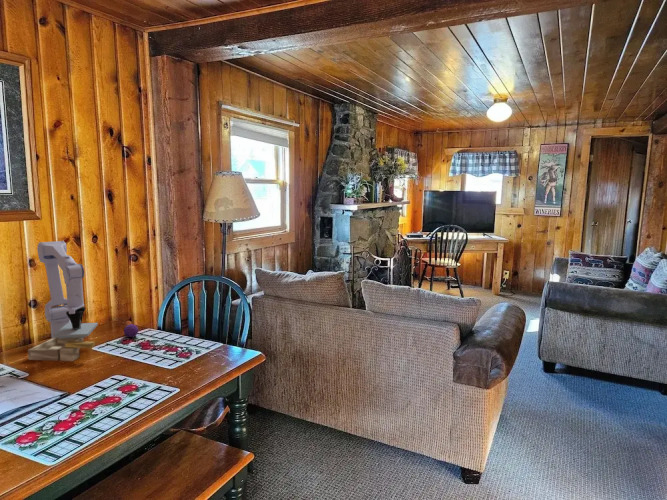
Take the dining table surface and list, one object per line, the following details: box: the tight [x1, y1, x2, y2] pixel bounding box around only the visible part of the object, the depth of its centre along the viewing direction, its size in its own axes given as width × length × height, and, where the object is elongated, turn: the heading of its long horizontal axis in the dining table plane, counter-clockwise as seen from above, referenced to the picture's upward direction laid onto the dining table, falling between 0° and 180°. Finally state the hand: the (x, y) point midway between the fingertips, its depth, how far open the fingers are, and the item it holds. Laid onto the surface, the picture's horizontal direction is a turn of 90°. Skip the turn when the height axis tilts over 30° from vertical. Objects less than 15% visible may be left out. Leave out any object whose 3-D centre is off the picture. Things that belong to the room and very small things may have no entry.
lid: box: [53, 320, 99, 339], centre depth 177 cm, size 16×12×6 cm
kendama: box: [123, 320, 139, 338], centre depth 203 cm, size 6×6×20 cm
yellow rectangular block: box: [65, 340, 96, 349], centre depth 169 cm, size 3×10×2 cm, turn 87°
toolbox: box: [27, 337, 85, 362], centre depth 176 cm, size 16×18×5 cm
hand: (77, 326), depth 177 cm, fingers closed on lid, 3 cm apart
